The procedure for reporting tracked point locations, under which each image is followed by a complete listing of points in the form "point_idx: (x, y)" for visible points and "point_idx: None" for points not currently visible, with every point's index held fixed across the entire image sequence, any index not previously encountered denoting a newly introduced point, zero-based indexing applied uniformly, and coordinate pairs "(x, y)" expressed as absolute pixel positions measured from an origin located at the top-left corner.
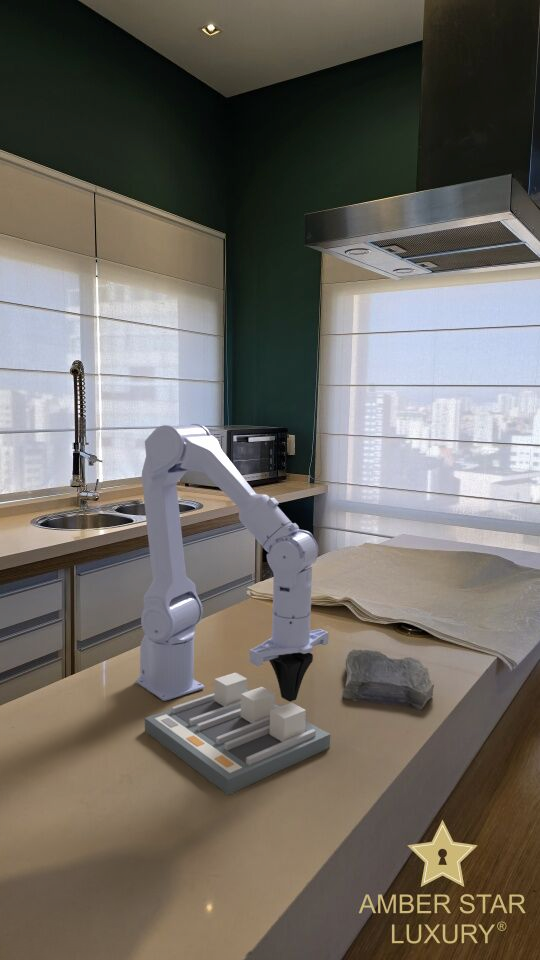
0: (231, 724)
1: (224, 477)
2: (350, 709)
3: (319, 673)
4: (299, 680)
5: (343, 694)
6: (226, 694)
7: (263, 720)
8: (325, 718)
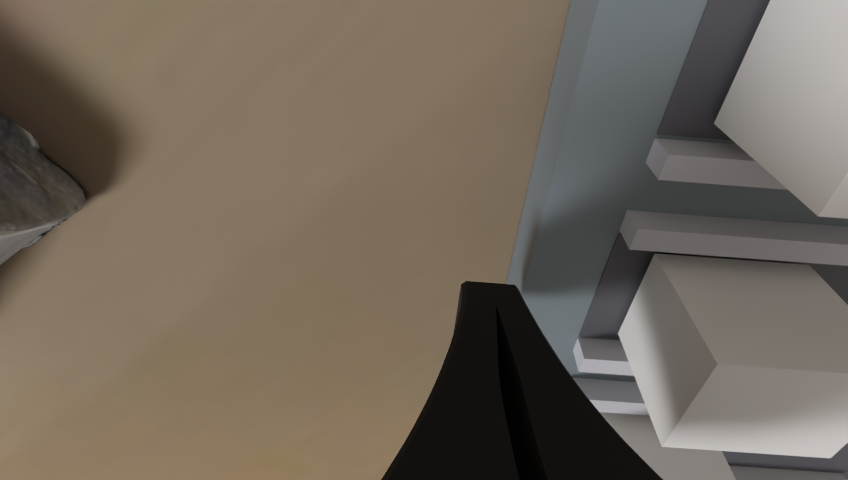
0: None
1: None
2: (118, 86)
3: (73, 380)
4: (477, 376)
5: (74, 205)
6: (732, 474)
7: (797, 249)
8: (324, 115)
